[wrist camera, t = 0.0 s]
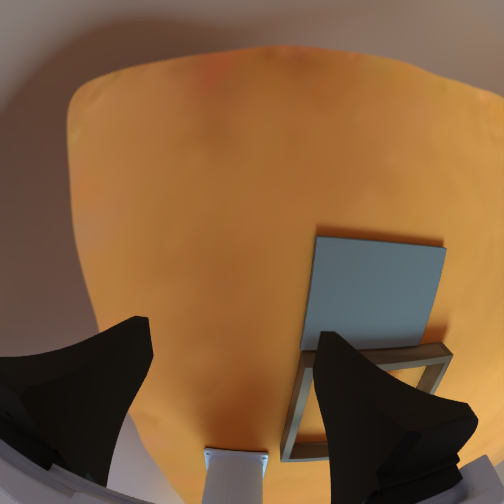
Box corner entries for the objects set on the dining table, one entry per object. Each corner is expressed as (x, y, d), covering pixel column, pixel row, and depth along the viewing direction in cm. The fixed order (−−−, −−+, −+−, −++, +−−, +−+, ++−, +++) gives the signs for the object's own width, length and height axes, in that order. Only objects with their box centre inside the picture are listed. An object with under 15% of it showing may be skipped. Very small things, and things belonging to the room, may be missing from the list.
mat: (416, 341, 22) (419, 345, 21) (299, 346, 22) (300, 350, 22) (443, 246, 19) (446, 248, 19) (315, 235, 20) (317, 237, 19)
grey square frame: (393, 434, 26) (399, 447, 24) (279, 446, 26) (280, 462, 24) (442, 342, 22) (453, 354, 20) (301, 349, 22) (305, 367, 20)
